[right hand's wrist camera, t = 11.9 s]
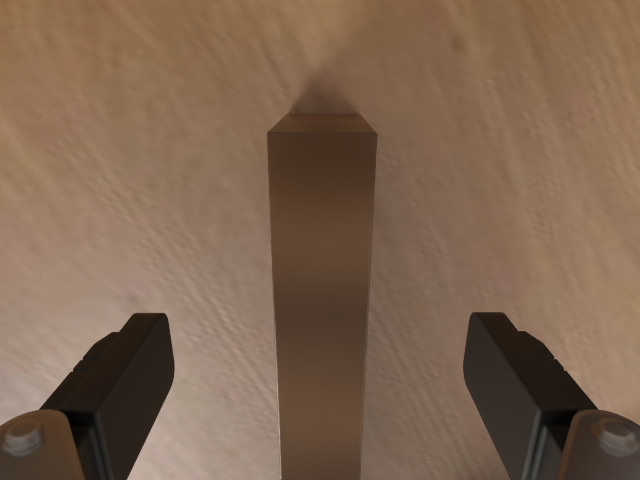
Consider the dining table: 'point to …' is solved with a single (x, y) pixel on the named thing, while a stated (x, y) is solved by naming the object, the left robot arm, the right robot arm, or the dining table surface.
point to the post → (321, 288)
